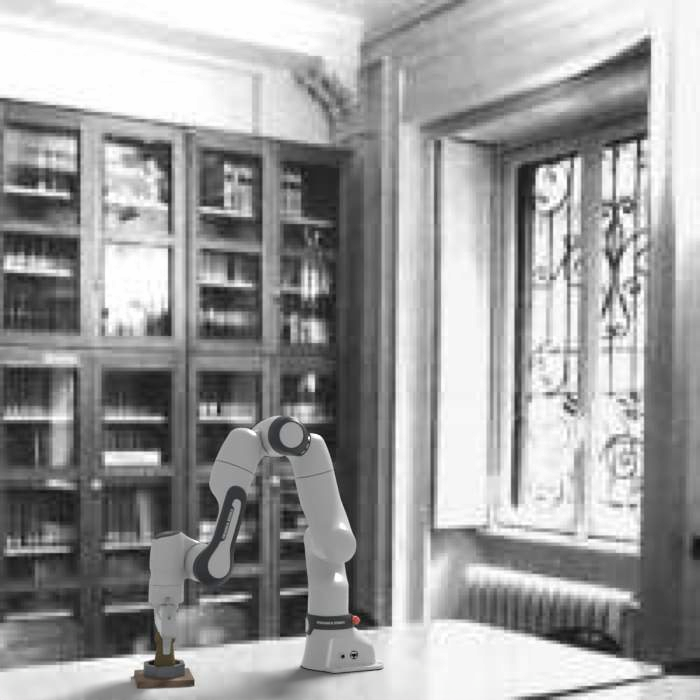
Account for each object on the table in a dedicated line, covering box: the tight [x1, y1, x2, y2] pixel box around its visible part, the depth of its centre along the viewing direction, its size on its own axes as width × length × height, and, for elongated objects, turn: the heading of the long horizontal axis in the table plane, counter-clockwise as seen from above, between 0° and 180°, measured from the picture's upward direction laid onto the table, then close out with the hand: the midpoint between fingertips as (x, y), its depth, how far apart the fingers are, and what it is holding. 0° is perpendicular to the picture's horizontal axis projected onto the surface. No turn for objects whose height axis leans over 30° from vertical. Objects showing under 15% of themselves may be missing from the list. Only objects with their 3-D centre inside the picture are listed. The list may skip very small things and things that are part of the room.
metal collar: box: [142, 658, 186, 679], centre depth 278 cm, size 10×10×3 cm
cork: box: [154, 630, 176, 666], centre depth 278 cm, size 6×6×11 cm
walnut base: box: [133, 667, 195, 689], centre depth 277 cm, size 14×14×2 cm
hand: (164, 650), depth 278 cm, fingers open, 8 cm apart
